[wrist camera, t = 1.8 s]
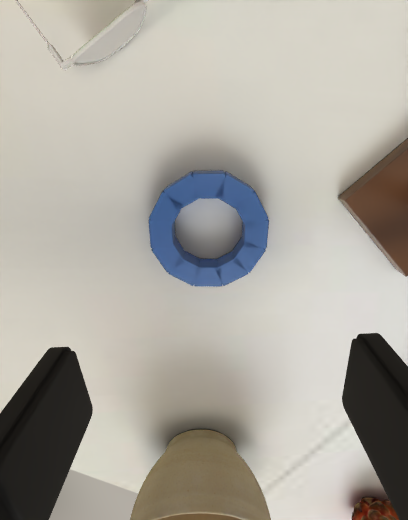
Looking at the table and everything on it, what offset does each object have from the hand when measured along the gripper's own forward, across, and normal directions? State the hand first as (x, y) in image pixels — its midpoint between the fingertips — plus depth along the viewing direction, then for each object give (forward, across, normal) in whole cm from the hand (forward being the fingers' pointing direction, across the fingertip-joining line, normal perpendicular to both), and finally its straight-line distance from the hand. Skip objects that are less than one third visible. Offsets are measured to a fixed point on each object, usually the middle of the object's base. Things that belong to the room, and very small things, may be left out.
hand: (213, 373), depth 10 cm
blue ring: (+18, 0, 0) cm, 18 cm away
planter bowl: (+18, +3, +32) cm, 37 cm away
